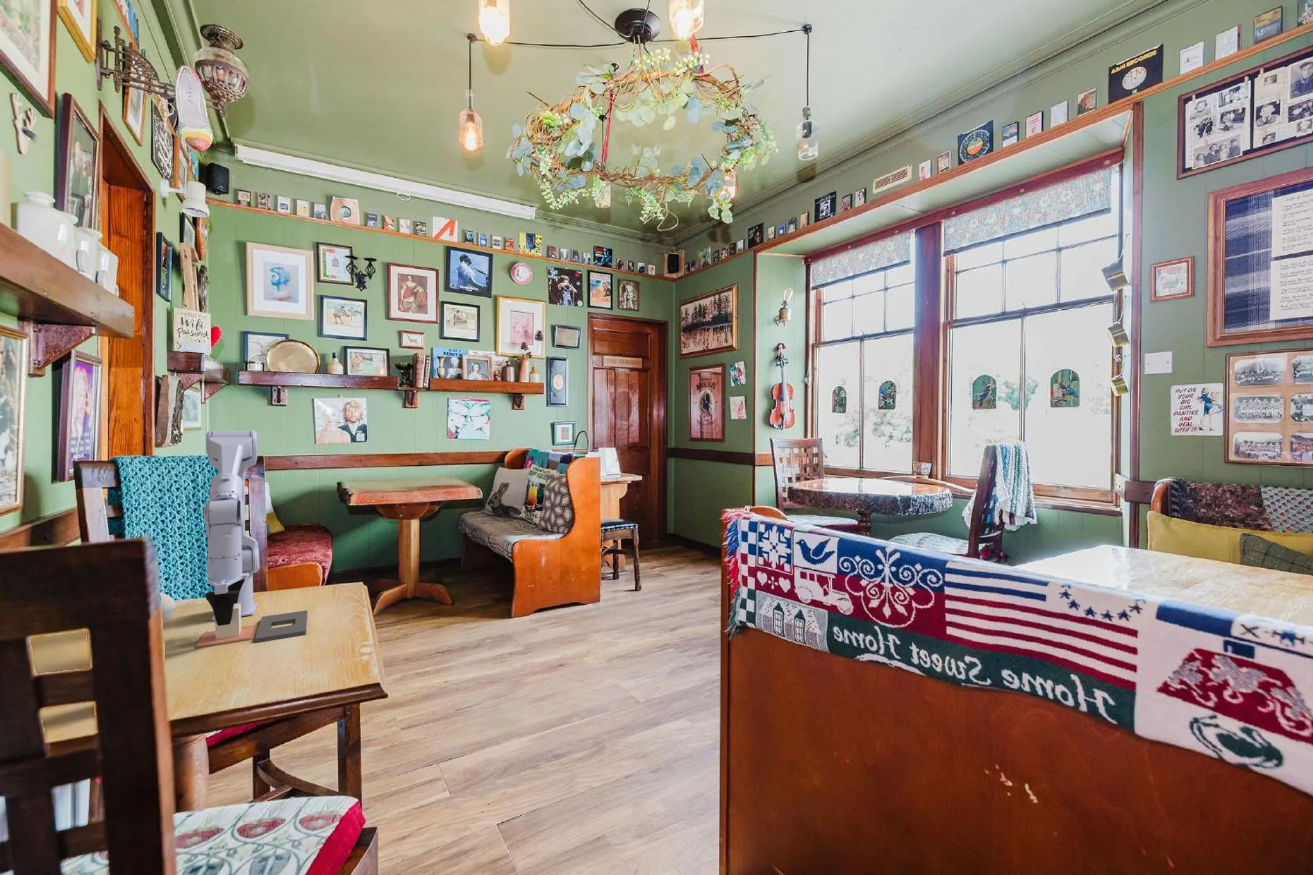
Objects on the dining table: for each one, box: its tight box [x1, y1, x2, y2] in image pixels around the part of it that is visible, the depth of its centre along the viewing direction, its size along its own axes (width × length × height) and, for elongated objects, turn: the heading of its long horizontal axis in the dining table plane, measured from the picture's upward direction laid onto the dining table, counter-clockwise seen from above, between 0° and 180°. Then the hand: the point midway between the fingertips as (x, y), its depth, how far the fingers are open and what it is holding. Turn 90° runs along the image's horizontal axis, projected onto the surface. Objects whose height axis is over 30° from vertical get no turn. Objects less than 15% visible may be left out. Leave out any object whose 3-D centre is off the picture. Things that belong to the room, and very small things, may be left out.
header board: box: [254, 609, 308, 643], centre depth 128 cm, size 16×9×1 cm, turn 30°
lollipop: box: [159, 592, 177, 624], centre depth 103 cm, size 6×6×15 cm
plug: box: [214, 603, 242, 640], centre depth 122 cm, size 4×4×6 cm
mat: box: [195, 624, 256, 649], centre depth 122 cm, size 9×9×1 cm
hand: (226, 619), depth 122 cm, fingers open, 7 cm apart
